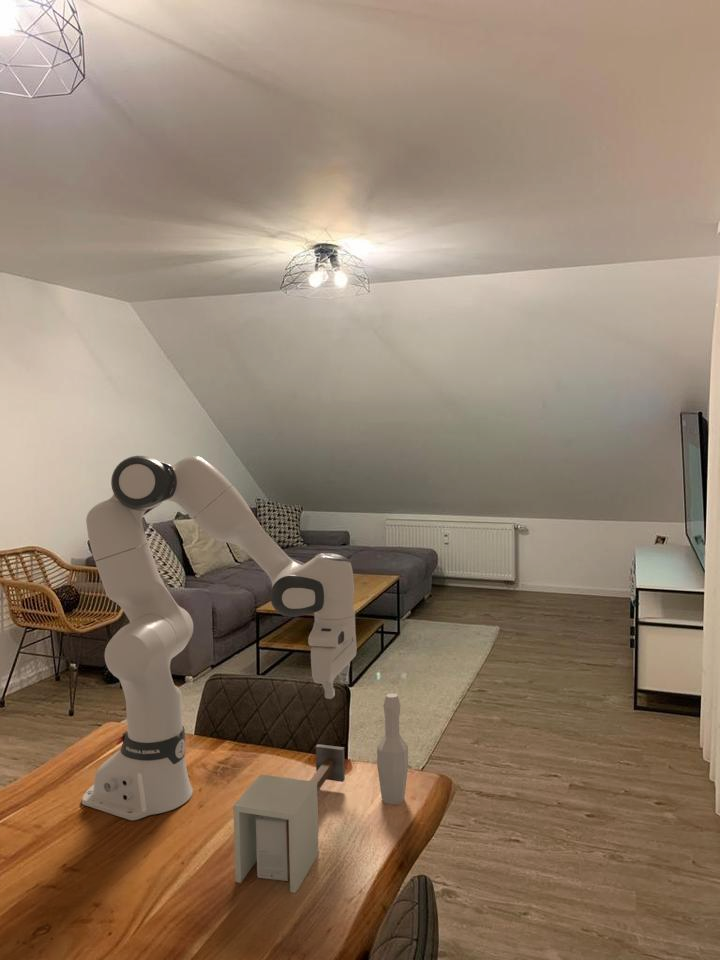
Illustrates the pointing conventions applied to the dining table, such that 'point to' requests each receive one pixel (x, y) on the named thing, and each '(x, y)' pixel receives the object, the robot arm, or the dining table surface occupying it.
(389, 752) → the low poly bottle
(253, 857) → the tunnel
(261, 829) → the small box
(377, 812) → the dining table surface
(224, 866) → the dining table surface
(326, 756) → the push rod
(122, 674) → the robot arm
